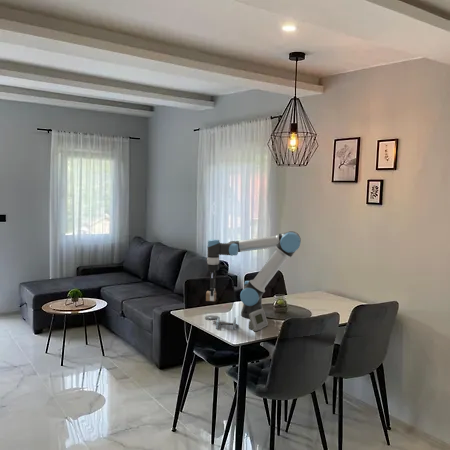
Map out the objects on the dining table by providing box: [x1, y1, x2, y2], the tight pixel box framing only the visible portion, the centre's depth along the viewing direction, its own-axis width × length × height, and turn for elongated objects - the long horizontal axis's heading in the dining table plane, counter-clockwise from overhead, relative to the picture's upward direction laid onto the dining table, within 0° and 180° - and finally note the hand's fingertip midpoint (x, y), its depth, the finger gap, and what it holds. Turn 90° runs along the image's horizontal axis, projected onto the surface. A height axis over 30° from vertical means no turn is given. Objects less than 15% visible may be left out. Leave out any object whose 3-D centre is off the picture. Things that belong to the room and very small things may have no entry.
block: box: [205, 290, 217, 302], centre depth 294 cm, size 6×6×5 cm
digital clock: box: [248, 308, 269, 332], centre depth 274 cm, size 16×9×11 cm, turn 136°
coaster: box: [204, 315, 219, 321], centre depth 295 cm, size 9×9×1 cm
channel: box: [215, 316, 237, 330], centre depth 277 cm, size 11×12×4 cm
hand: (212, 299), depth 294 cm, fingers closed on block, 6 cm apart
